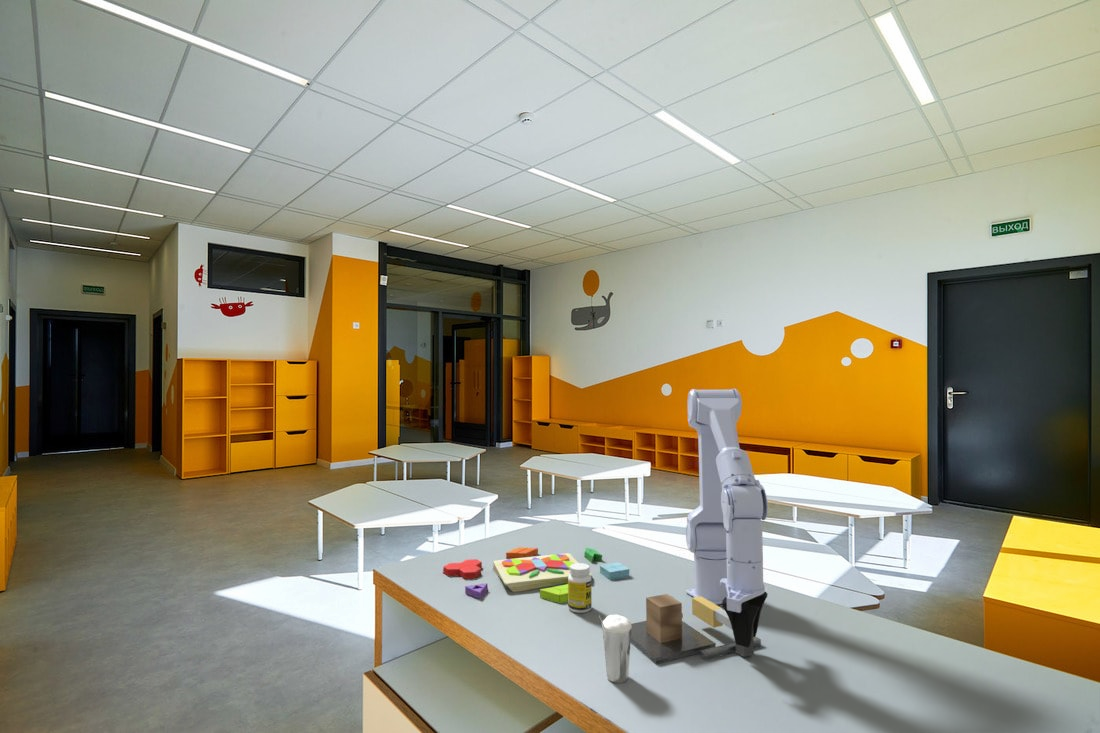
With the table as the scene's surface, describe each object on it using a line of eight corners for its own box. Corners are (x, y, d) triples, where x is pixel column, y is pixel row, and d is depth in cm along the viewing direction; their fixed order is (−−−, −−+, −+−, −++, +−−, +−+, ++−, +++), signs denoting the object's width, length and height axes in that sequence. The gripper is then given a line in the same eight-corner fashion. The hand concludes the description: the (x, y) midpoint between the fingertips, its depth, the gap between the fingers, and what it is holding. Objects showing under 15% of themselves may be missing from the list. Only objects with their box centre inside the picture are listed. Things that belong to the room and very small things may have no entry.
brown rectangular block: (673, 626, 98) (672, 592, 98) (687, 636, 94) (687, 602, 94) (646, 631, 96) (646, 597, 96) (660, 642, 91) (660, 607, 92)
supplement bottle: (590, 614, 105) (589, 571, 105) (566, 612, 106) (565, 569, 106) (593, 604, 110) (592, 563, 110) (570, 602, 111) (569, 561, 111)
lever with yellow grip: (701, 620, 101) (700, 588, 101) (753, 654, 89) (753, 616, 89) (692, 622, 100) (691, 589, 100) (744, 656, 88) (743, 619, 88)
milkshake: (592, 674, 84) (592, 609, 84) (622, 667, 86) (621, 603, 86) (607, 690, 79) (606, 621, 80) (638, 681, 82) (637, 615, 82)
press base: (707, 613, 105) (707, 607, 105) (760, 645, 92) (760, 639, 92) (618, 632, 98) (618, 626, 98) (662, 670, 85) (662, 663, 85)
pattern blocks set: (568, 545, 151) (567, 534, 151) (648, 583, 122) (648, 569, 123) (437, 571, 131) (437, 558, 132) (496, 623, 103) (496, 607, 103)
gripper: (732, 542, 98) (733, 618, 98) (707, 565, 86) (708, 652, 85) (773, 549, 94) (774, 627, 94) (753, 574, 82) (754, 664, 82)
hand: (745, 640), depth 89 cm, fingers closed on lever with yellow grip, 3 cm apart
